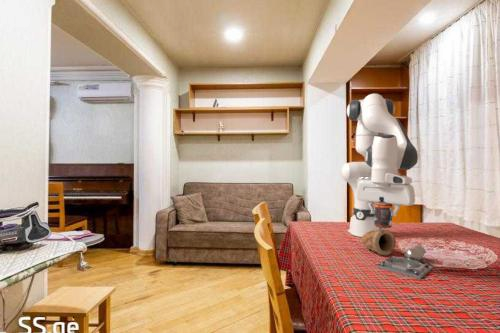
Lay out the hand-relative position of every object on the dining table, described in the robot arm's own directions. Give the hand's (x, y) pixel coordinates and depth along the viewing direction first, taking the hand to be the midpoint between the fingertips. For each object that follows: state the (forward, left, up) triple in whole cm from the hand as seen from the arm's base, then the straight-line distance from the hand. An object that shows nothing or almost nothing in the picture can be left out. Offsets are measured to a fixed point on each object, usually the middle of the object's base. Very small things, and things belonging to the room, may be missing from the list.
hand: (383, 214), depth 108 cm
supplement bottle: (0, 0, -5) cm, 5 cm away
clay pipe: (-19, -9, -19) cm, 28 cm away
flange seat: (-9, +7, -19) cm, 22 cm away
